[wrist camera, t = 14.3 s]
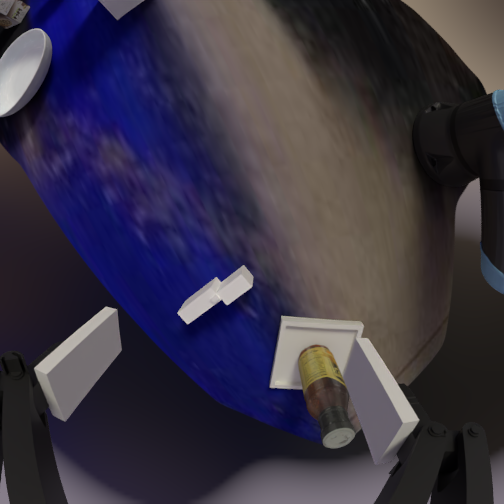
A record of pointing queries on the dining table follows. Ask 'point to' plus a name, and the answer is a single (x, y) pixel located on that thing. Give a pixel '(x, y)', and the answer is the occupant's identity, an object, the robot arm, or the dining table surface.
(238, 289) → the white stepped block
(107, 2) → the milk
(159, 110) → the dining table surface
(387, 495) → the robot arm
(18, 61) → the serving bowl
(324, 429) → the sauce bottle
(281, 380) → the tray
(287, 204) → the dining table surface
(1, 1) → the coffee box
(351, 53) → the dining table surface
